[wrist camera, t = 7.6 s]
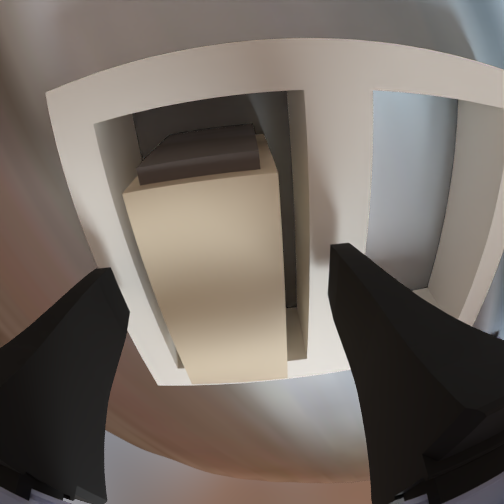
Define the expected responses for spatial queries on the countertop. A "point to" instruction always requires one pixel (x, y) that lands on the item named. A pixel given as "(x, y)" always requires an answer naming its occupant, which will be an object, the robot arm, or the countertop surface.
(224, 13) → the countertop surface
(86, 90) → the white open frame
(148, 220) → the beige boxy piece
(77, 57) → the countertop surface
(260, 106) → the countertop surface
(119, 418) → the countertop surface
